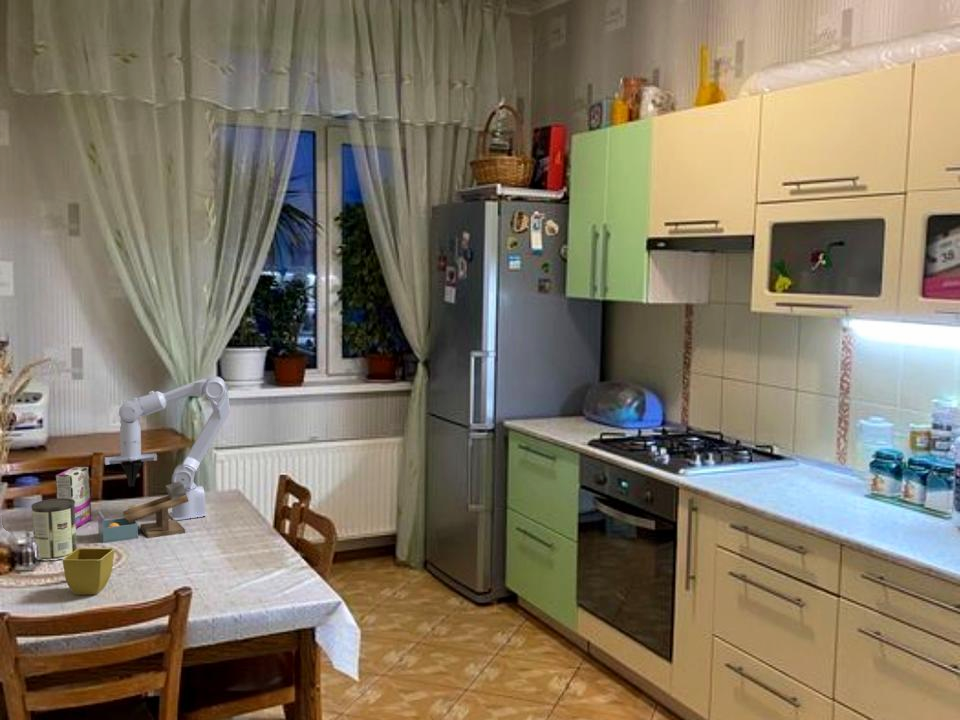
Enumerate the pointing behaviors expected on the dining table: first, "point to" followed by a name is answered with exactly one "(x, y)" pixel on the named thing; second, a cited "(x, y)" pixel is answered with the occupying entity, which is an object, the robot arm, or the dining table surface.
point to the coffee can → (54, 527)
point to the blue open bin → (116, 529)
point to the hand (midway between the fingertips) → (131, 486)
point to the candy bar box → (76, 492)
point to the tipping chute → (157, 503)
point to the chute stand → (162, 525)
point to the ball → (113, 525)
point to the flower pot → (88, 569)
